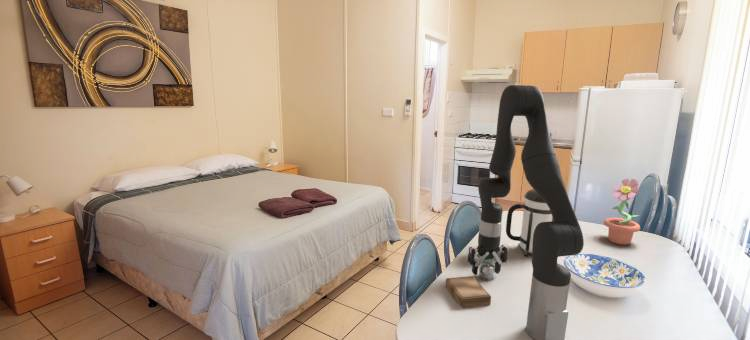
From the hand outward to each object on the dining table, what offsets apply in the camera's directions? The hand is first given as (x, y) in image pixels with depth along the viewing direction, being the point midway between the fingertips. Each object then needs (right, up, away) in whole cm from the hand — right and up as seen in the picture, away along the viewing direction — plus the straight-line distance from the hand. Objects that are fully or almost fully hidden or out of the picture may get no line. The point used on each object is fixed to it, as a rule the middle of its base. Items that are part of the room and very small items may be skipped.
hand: (485, 273), depth 132 cm
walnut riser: (-10, -4, -12) cm, 16 cm away
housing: (0, -2, 0) cm, 2 cm away
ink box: (+4, +1, +15) cm, 16 cm away
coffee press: (+26, +2, +22) cm, 34 cm away
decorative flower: (+73, +5, +36) cm, 81 cm away
